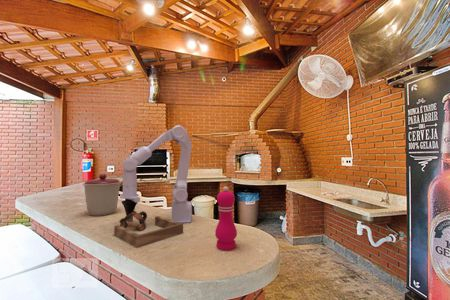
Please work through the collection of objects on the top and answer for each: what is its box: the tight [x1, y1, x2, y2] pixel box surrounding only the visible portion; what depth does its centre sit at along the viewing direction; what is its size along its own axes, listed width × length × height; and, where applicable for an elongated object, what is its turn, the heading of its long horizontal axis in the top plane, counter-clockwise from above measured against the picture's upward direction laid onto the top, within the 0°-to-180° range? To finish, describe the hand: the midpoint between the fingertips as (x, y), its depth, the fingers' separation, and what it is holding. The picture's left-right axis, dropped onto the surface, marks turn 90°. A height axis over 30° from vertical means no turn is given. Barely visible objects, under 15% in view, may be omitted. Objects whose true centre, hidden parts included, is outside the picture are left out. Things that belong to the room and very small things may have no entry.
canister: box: [82, 173, 122, 217], centre depth 122 cm, size 18×18×21 cm
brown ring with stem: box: [119, 210, 148, 232], centre depth 97 cm, size 12×10×8 cm
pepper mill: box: [214, 186, 238, 251], centre depth 77 cm, size 7×7×20 cm
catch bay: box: [113, 215, 184, 248], centre depth 89 cm, size 18×19×4 cm
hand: (129, 216), depth 100 cm, fingers closed
